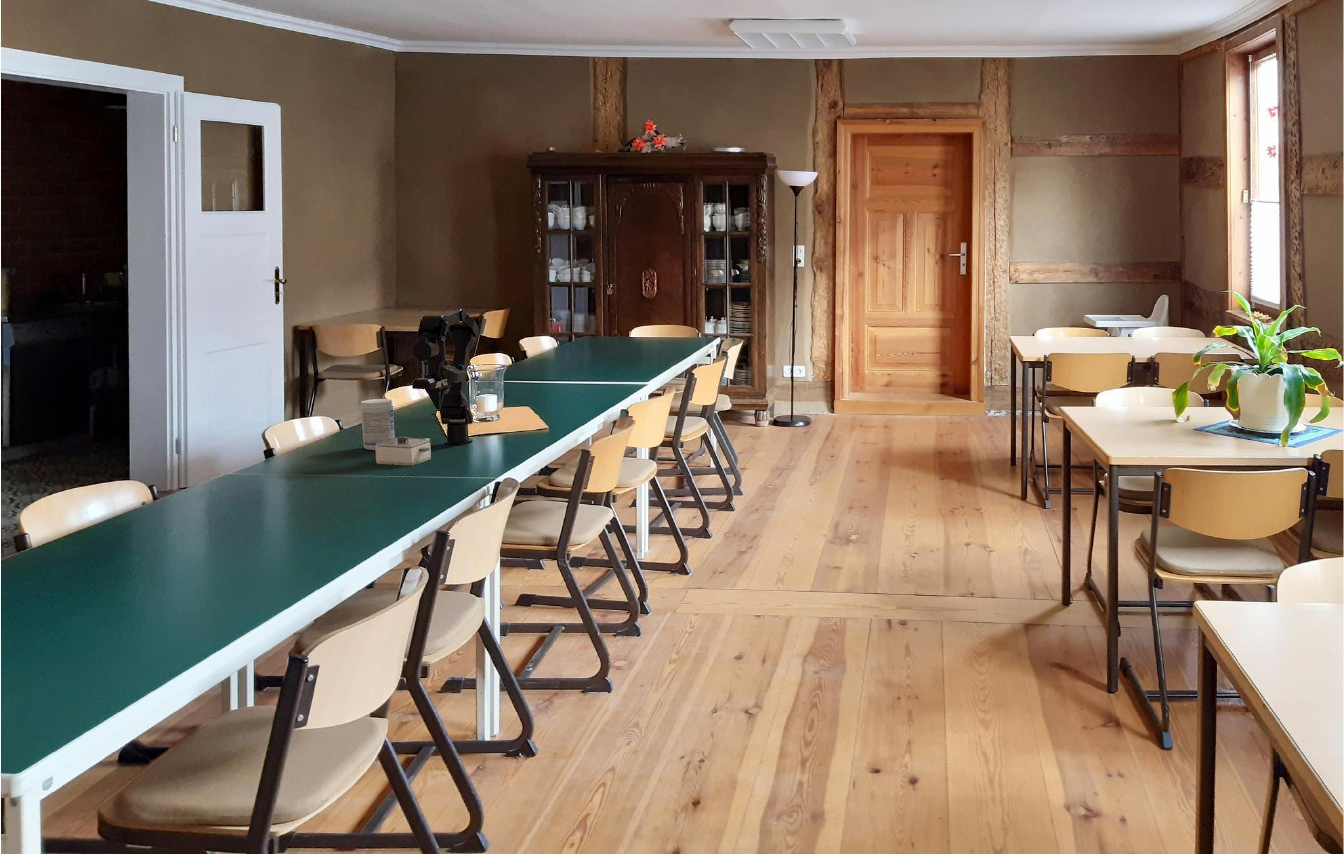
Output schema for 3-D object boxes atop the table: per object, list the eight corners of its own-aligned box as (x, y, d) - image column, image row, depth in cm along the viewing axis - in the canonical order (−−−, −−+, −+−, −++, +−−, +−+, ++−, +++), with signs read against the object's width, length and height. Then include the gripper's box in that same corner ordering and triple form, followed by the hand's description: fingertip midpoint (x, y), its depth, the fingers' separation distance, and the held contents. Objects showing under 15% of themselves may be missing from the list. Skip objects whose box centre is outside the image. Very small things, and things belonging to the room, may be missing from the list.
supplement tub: (400, 448, 383) (397, 401, 380) (370, 452, 378) (367, 404, 375) (388, 444, 391) (385, 397, 388) (358, 447, 386) (356, 400, 383)
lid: (395, 439, 368) (395, 433, 368) (430, 441, 364) (430, 434, 364) (376, 445, 359) (375, 439, 358) (411, 447, 355) (411, 441, 354)
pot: (389, 456, 369) (388, 440, 369) (436, 459, 364) (436, 442, 363) (370, 463, 360) (369, 446, 359) (418, 466, 355) (417, 448, 354)
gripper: (443, 361, 359) (445, 415, 362) (475, 354, 376) (477, 405, 379) (409, 360, 363) (412, 413, 366) (443, 353, 380) (445, 404, 383)
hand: (438, 409), depth 373 cm, fingers closed
